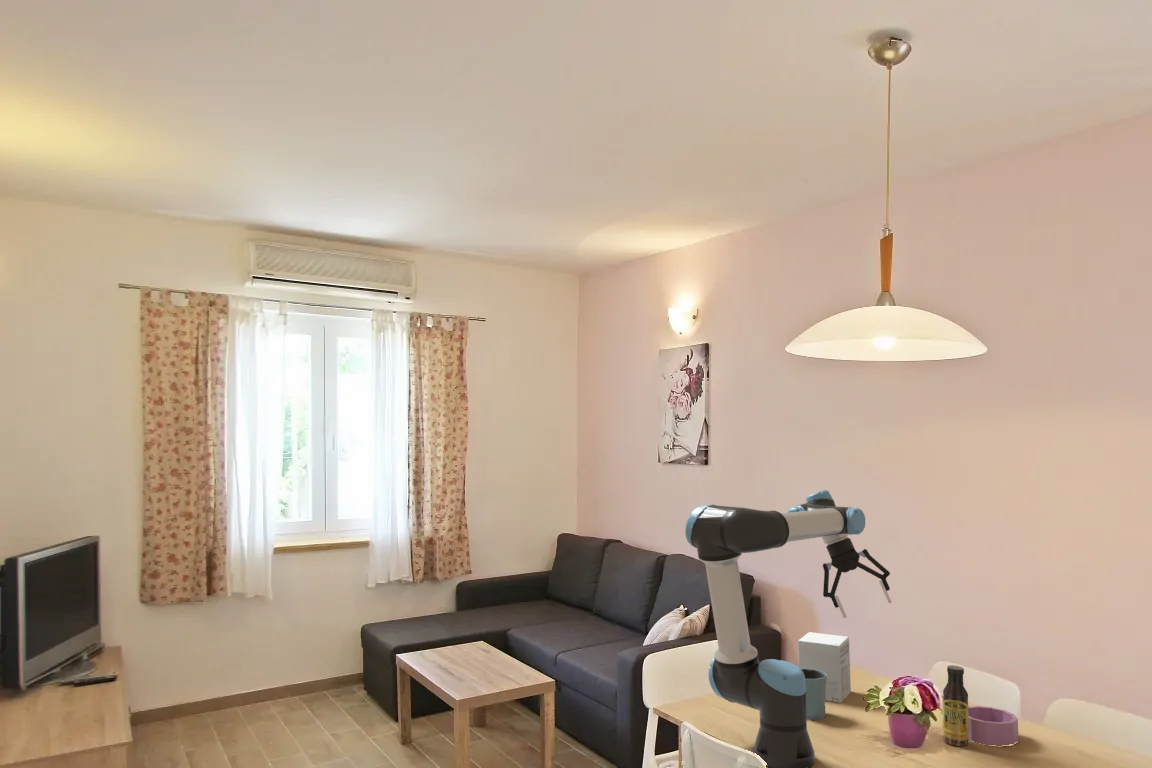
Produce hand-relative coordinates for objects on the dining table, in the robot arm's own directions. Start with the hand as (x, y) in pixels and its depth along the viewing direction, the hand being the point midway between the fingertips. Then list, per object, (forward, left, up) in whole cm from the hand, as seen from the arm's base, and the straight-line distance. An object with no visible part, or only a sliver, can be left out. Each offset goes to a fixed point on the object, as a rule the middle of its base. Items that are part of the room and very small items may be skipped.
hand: (867, 610), depth 234 cm
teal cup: (-3, +17, -31) cm, 35 cm away
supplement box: (+18, +13, -31) cm, 38 cm away
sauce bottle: (-14, -21, -31) cm, 40 cm away
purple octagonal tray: (-7, -30, -31) cm, 43 cm away
